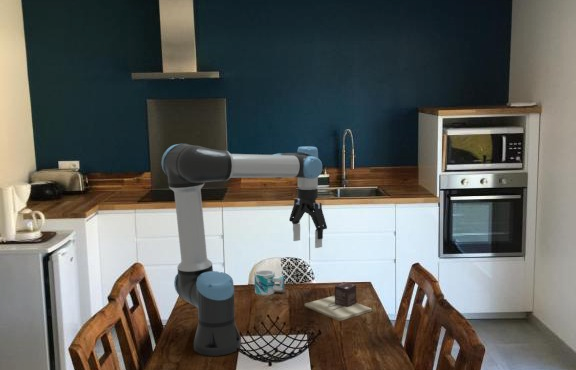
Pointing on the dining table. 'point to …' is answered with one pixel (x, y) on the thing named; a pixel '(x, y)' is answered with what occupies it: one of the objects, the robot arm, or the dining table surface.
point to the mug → (267, 282)
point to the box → (345, 294)
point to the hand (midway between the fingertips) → (307, 243)
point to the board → (337, 308)
